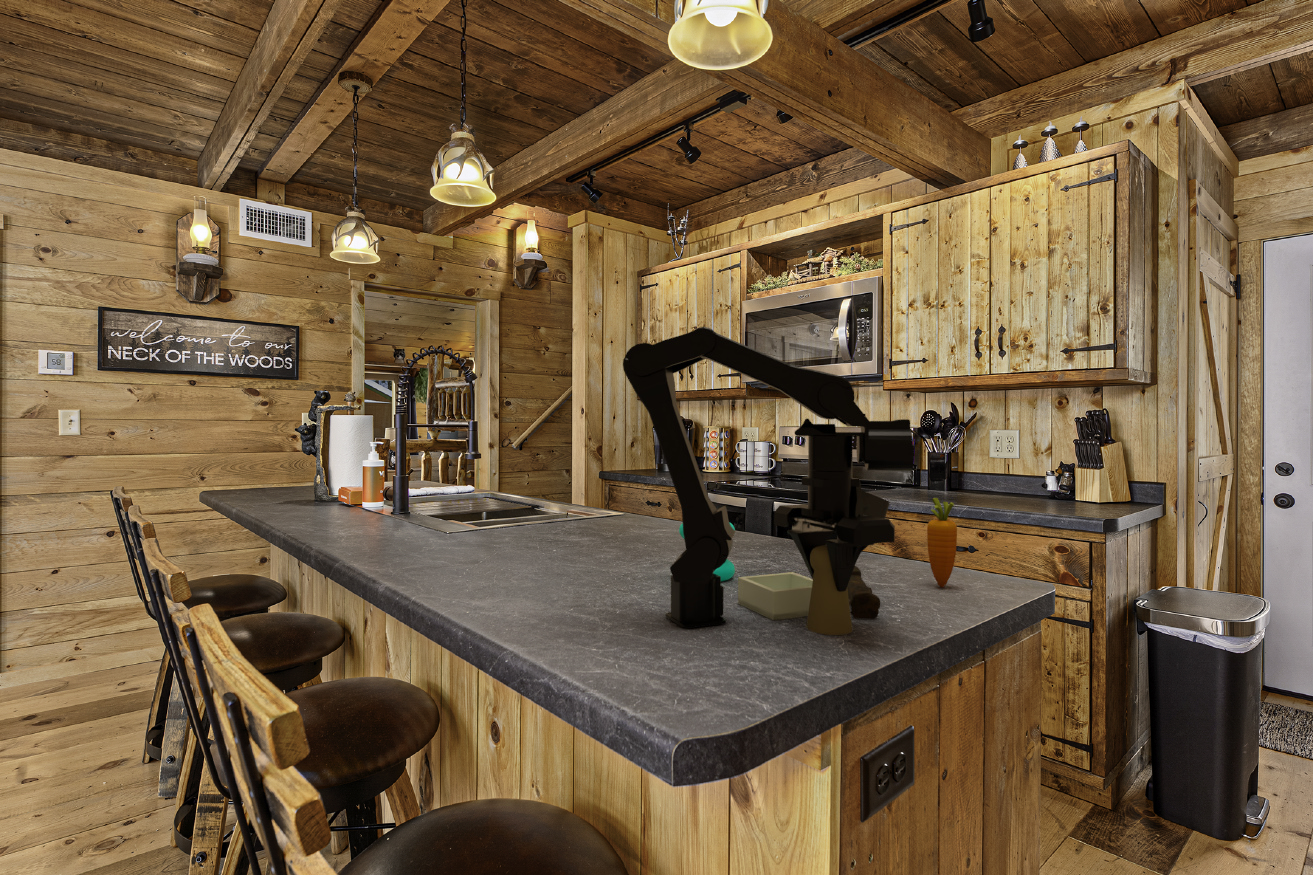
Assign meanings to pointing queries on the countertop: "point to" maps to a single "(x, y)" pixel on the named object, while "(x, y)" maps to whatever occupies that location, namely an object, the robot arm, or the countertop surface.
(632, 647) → the countertop surface
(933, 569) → the carrot
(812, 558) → the cork
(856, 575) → the dark brown lumpy bar
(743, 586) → the tray
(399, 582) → the countertop surface
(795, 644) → the countertop surface
